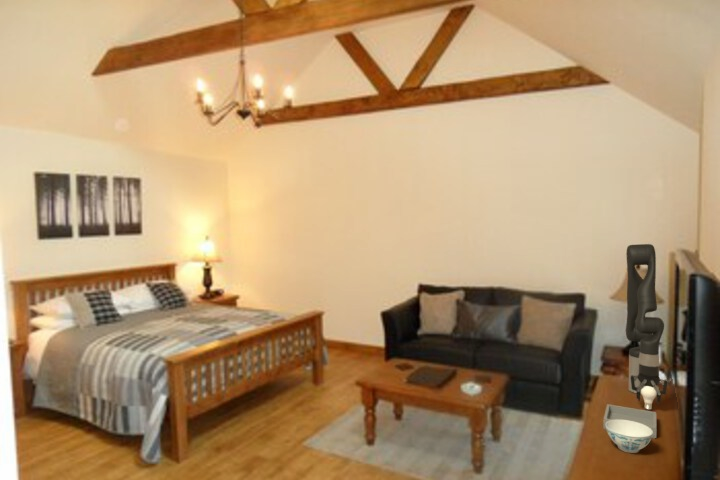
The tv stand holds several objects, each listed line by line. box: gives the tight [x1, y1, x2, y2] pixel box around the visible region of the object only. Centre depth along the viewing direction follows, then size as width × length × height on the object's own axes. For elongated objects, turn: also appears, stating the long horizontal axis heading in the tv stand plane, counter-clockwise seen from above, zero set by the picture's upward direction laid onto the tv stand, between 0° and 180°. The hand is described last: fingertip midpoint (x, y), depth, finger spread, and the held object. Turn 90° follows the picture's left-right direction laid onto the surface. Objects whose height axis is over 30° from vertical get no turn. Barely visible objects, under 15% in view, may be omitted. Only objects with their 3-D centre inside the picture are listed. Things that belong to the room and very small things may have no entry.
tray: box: [602, 403, 657, 439], centre depth 198 cm, size 18×18×4 cm
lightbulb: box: [640, 386, 657, 411], centre depth 212 cm, size 6×6×11 cm
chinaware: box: [605, 420, 653, 454], centre depth 178 cm, size 15×15×8 cm
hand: (648, 401), depth 212 cm, fingers closed on lightbulb, 6 cm apart
